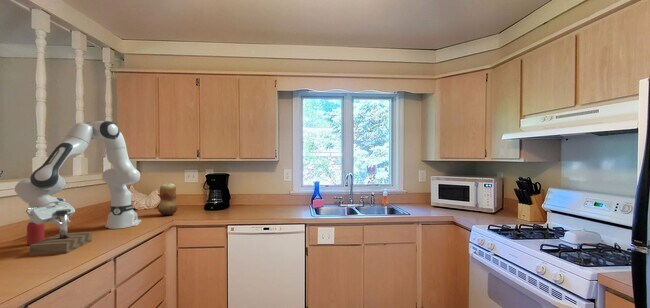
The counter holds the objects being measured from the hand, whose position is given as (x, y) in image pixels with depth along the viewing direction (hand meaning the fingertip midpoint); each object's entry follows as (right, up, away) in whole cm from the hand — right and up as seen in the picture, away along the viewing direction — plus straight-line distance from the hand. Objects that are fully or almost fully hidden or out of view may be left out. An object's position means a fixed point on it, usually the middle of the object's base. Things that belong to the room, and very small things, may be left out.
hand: (64, 224), depth 143 cm
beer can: (-22, -12, +6) cm, 26 cm away
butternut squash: (+10, -13, +77) cm, 79 cm away
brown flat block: (-1, -12, 0) cm, 12 cm away
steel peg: (-1, -9, 0) cm, 9 cm away
